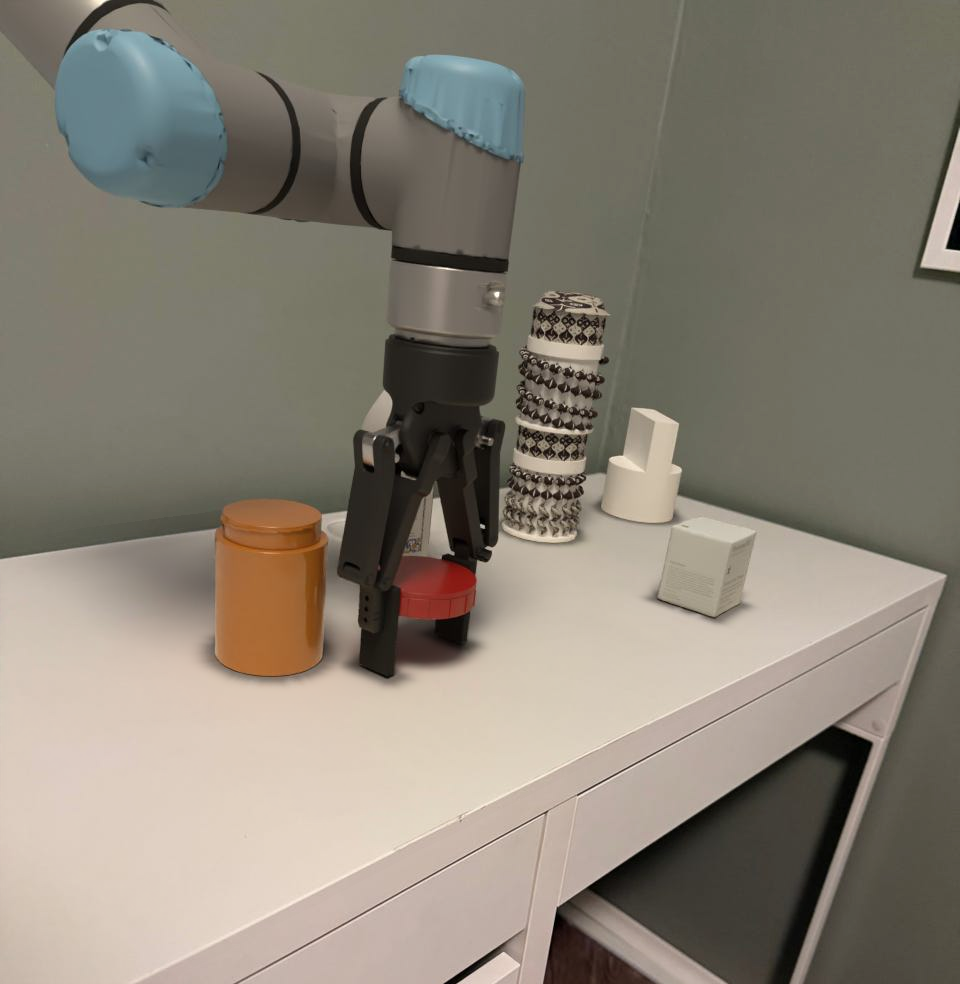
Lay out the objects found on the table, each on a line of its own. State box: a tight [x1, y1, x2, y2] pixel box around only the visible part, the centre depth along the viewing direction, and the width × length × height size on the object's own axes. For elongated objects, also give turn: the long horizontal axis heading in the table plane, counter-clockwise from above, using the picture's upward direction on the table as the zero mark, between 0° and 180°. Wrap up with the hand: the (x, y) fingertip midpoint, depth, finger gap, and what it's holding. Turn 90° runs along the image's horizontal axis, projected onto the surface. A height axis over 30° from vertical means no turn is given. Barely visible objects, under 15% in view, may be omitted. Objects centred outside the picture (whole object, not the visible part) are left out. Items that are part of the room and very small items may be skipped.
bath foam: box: [360, 389, 436, 557], centre depth 82 cm, size 7×7×20 cm
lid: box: [378, 556, 478, 620], centre depth 67 cm, size 8×8×2 cm
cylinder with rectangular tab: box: [600, 407, 683, 524], centre depth 113 cm, size 9×9×12 cm
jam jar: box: [214, 498, 329, 677], centre depth 65 cm, size 8×8×11 cm
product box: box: [657, 516, 757, 618], centre depth 86 cm, size 6×6×7 cm
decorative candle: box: [501, 290, 611, 544], centre depth 98 cm, size 9×9×25 cm
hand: (415, 651), depth 69 cm, fingers closed on lid, 8 cm apart
